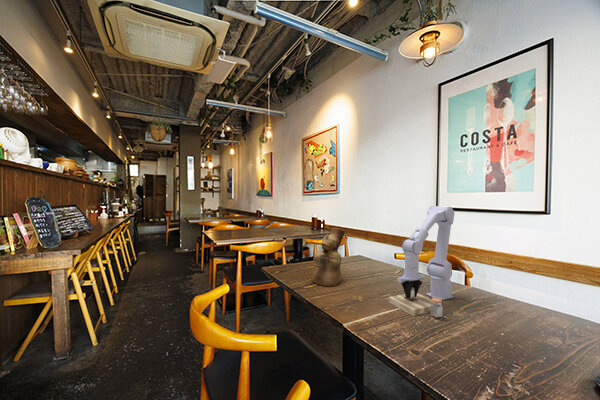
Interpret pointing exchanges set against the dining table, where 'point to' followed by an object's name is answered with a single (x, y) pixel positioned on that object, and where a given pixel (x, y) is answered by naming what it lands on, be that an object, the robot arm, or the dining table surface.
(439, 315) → the plunger housing
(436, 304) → the cap
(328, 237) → the ceramic vessel
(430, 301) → the block
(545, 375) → the dining table surface
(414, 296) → the steel pin
